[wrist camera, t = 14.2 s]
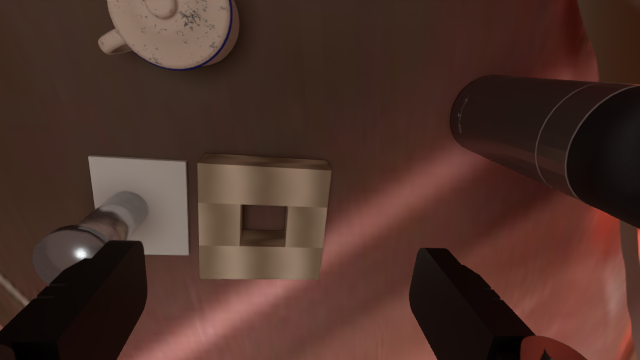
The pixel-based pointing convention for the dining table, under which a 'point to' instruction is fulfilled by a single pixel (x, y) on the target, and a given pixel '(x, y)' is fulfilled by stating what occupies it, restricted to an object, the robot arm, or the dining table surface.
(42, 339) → the robot arm
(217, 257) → the bore housing
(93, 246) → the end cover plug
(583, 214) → the dining table surface
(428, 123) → the dining table surface
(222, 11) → the teacup with lid
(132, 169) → the mat
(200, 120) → the dining table surface
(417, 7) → the dining table surface
